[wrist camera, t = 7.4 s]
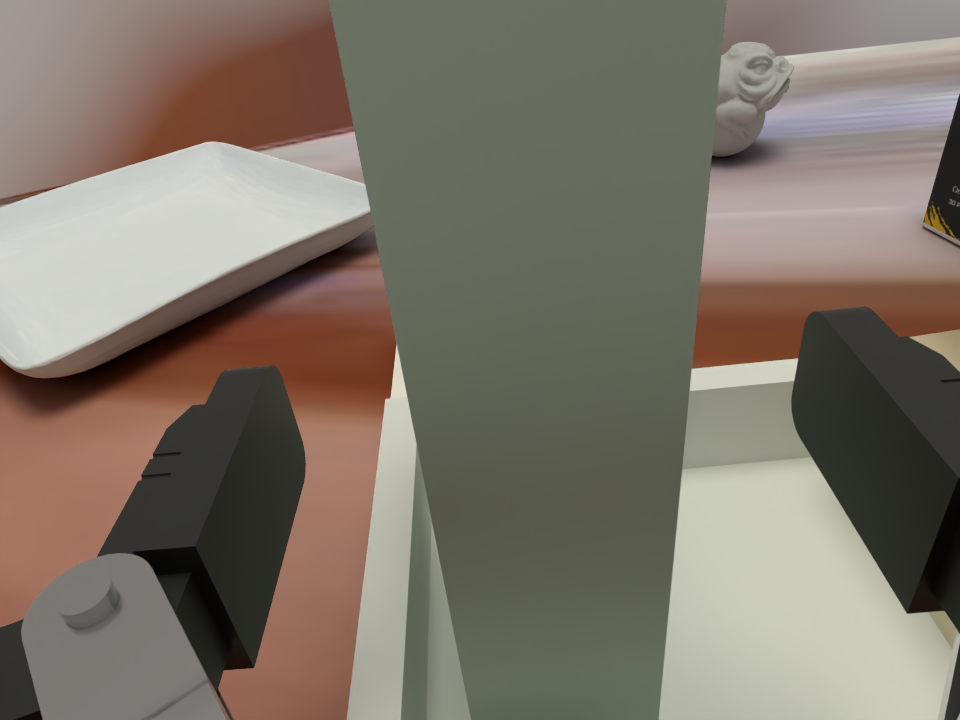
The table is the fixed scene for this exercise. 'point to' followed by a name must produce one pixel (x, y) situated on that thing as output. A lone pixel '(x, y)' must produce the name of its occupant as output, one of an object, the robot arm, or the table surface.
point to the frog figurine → (747, 94)
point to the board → (544, 316)
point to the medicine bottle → (947, 188)
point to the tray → (684, 582)
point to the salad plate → (158, 249)
